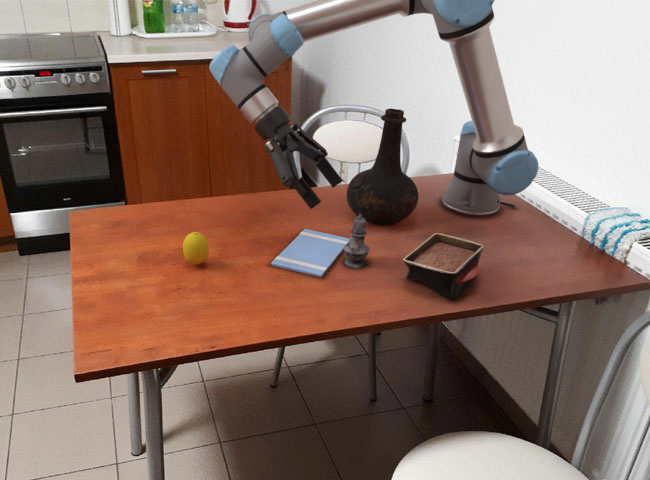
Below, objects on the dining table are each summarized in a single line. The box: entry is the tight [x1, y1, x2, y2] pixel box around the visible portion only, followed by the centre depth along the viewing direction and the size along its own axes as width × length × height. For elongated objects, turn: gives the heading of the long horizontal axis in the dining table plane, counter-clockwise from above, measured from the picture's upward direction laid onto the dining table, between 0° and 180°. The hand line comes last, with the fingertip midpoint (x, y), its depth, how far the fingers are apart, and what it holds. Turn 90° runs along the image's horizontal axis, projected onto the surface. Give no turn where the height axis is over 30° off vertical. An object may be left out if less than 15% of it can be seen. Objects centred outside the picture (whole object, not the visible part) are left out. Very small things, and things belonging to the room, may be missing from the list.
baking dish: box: [402, 232, 484, 302], centre depth 136 cm, size 14×18×10 cm
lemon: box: [182, 231, 210, 266], centre depth 138 cm, size 6×6×8 cm
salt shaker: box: [343, 213, 371, 269], centre depth 140 cm, size 6×6×12 cm
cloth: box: [270, 228, 351, 278], centre depth 147 cm, size 12×20×1 cm, turn 156°
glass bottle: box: [346, 108, 419, 227], centre depth 157 cm, size 18×18×28 cm
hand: (327, 194), depth 138 cm, fingers open, 13 cm apart
